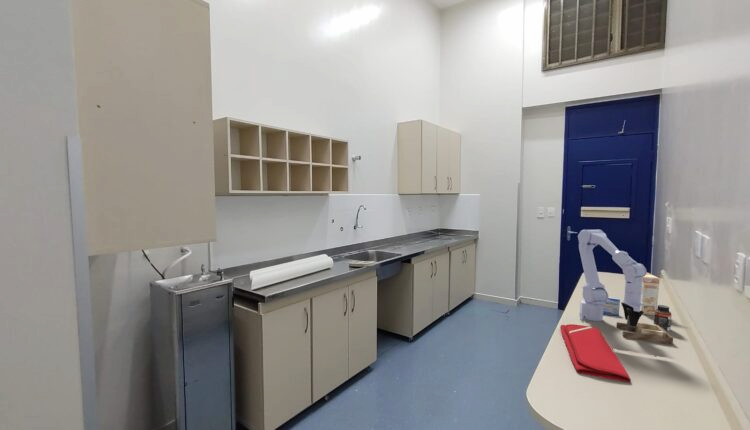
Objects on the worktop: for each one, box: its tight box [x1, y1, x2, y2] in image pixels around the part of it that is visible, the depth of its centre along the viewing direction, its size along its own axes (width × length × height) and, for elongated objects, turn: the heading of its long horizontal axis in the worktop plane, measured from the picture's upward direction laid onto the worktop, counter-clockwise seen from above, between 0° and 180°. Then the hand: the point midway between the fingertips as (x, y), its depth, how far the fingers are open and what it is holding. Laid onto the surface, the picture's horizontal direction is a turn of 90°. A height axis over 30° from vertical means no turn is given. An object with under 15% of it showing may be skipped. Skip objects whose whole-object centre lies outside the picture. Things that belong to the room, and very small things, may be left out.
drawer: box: [625, 315, 666, 337], centre depth 145 cm, size 12×9×8 cm
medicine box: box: [603, 296, 621, 317], centre depth 175 cm, size 8×4×9 cm, turn 68°
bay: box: [615, 321, 674, 346], centre depth 146 cm, size 19×16×4 cm
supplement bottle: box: [653, 304, 673, 332], centre depth 154 cm, size 6×6×11 cm
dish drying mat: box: [559, 323, 632, 383], centre depth 132 cm, size 16×41×4 cm, turn 159°
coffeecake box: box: [640, 272, 661, 316], centre depth 181 cm, size 15×7×20 cm, turn 161°
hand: (630, 322), depth 147 cm, fingers open, 7 cm apart
